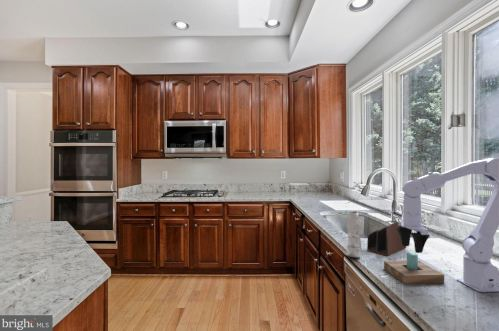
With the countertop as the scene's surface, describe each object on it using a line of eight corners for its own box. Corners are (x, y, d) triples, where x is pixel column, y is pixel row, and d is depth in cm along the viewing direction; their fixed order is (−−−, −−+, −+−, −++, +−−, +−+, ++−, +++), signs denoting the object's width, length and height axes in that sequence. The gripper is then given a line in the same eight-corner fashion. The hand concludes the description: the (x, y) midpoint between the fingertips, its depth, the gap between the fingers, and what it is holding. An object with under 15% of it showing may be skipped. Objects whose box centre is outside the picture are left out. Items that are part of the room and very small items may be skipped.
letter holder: (406, 248, 136) (406, 219, 136) (387, 256, 124) (387, 225, 124) (386, 243, 144) (386, 216, 144) (366, 251, 132) (366, 222, 132)
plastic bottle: (358, 254, 127) (358, 211, 127) (364, 259, 120) (364, 213, 120) (344, 254, 127) (344, 211, 127) (350, 259, 120) (350, 214, 120)
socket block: (444, 283, 97) (444, 274, 97) (405, 284, 96) (405, 275, 96) (417, 267, 111) (417, 260, 111) (383, 268, 110) (383, 261, 110)
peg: (420, 277, 102) (420, 255, 102) (411, 277, 101) (411, 256, 101) (413, 273, 105) (413, 252, 105) (404, 273, 105) (404, 252, 105)
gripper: (390, 209, 110) (390, 243, 110) (414, 216, 96) (414, 255, 96) (408, 209, 110) (408, 243, 111) (433, 216, 96) (433, 255, 96)
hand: (412, 249), depth 103 cm, fingers open, 7 cm apart
